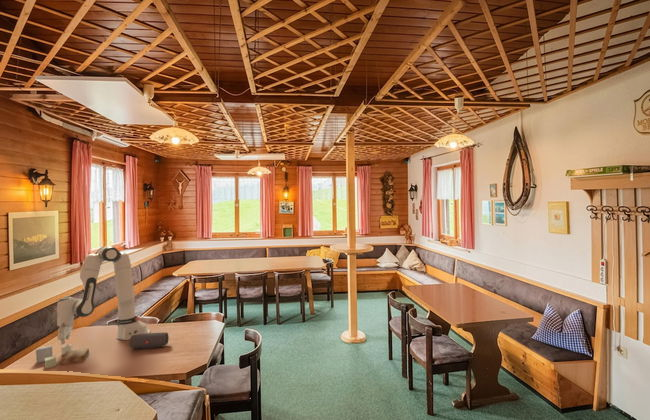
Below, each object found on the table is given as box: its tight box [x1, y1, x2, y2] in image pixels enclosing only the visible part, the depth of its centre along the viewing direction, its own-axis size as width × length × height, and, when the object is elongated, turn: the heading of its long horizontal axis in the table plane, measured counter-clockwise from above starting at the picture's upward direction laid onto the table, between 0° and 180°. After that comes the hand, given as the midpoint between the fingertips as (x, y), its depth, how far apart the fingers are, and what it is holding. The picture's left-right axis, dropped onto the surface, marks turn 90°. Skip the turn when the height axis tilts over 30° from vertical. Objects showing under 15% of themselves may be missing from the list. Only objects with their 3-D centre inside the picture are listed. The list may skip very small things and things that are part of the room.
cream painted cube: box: [61, 343, 74, 356], centre depth 225 cm, size 5×5×5 cm
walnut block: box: [60, 348, 90, 366], centre depth 215 cm, size 12×12×4 cm
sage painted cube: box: [44, 355, 57, 369], centre depth 206 cm, size 5×5×5 cm
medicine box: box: [35, 344, 54, 364], centre depth 214 cm, size 8×4×9 cm, turn 129°
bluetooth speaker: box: [129, 331, 170, 350], centre depth 229 cm, size 23×9×10 cm, turn 99°
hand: (65, 341), depth 225 cm, fingers open, 8 cm apart
